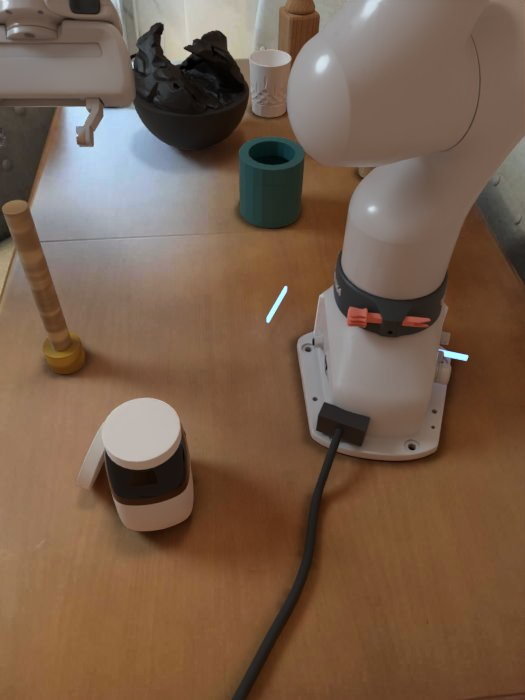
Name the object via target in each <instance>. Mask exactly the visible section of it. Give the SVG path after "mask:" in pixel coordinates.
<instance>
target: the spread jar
mask: <svg viewBox="0 0 525 700" xmlns="http://www.w3.org/2000/svg"><path fill="white" fill-rule="evenodd" d="M103 465H104V467H105V472H106V478H107V482H108V485H109V488H110V493H111V495H112V499H113V502H114V505H115V509H116V511H117V514H118V517H119V519H120V521H121V523H122V524H123V526H124V527H125V528H126V529H129V530H131V531H134V532H135V531H136V532H155V531H161V530H165V529H168V528H171V527H175V526H176V525H178V524H181V523H183V522H184V521H185V520H187V519H188V518H189V517H190V516H191V514H192V511H193V507H194V497H195V496H194V495H195V493H194V481H193V479H194V477H193V471H192V465H191V454H190V448H189V443H188V440H187V433H186V431H185V430H184V427H183V424H182V422H181V419H180V417H179V415H178V413H177V411H176V410H175V409H174V408H173V406H171V404H168V403H167V402H165V401H163V400H161V399H158V398H154V397H137V398H133V399H130V400H128V401H125V402H123V403H120V404H119V405H117V406H116V408H114V409H113V410H111V412H110V413H109V414H108V415H107V416H106V418H105V420H104V421H103V422H102V424H101V425H100V426H99V428H98V430H97V432H96V434H95V436H94V438H93V439H92V442H91V444H90V446H89V448H88V451H87V453H86V455H85V457H84V460H83V462H82V464H81V467H80V469H79V472H78V475H77V478H76V483H75V486H77V487H79V488H82V489H84V490H87V491H90V490H91V489H92V487H93V486H94V484H95V482H96V480H97V478H98V476H99V474H100V472H101V470H102V467H103Z"/></svg>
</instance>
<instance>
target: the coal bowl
mask: <svg viewBox="0 0 525 700" xmlns="http://www.w3.org/2000/svg"><path fill="white" fill-rule="evenodd" d="M164 31H165V25H164V23H162V22H161V21H159V22H158V21H157V22H155V23H154V24H152V25H151V26H150V27H149V30H148V31H146V32H144V33H143V34H142V35H141V36H139V37H138V38H137V41H136V44H135V46H136V48H137V50H138V51H137V52H135V53H136V55H135V58H133V59H134V60H133V62H132V66H133V72H134V79H135V89H136V97H135V99H134V101H133V102H132V105H133V107H134V109H135V113H136V114H137V116H138V118H139V119H140V121H141V122H142V124H143V125H144V126H145V128H146V129H147V130H148V131H149V132H150V133H151V134H152V135H153V136H154V137H155V138H156V139H158V140H159V141H160V142H162V143H164V144H166V145H168V146H170V147H172V148H176V149H179V150H184V151H201V150H202V151H203V150H205V149H210V148H212V147H216V146H217V145H219V144H220V143H222V142H224V141H225V140H226V139H228V138H229V137H230V136H231V135H232V134H233V133H234V132H235V131H236V129H237V128H238V127H239V125H240V123H241V122H242V120H243V118H244V116H245V113H246V111H247V108H248V103H249V99H250V85H249V84H248V82H247V81H246V79H245V76H244V74H243V73H242V72H241V68H240V67H239V65H238V63H237V61H236V60H235V59H234V57H233V55H232V54H231V52H230V51H229V50H228V37H227V35H226V34H224V33H223V32H222V31H221V30H218V29H215V30H211V31H208V32H206V33H204V34H202V36H201V37H200V38H197V37H196V38H195V39H193V40H192V44H187V45H186V46H183V50H185V51H186V52H188V53H190V54H189V55H188V56H187V57H186V58H185V59H184V60H183V61H182V62H181V63H178V64H173V63H172V61H171V60H169V58H168V57H167V56H166V55H164V52H165V51H164V49H163V47H162V45H161V42H162V35H163V33H164Z"/></svg>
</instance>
